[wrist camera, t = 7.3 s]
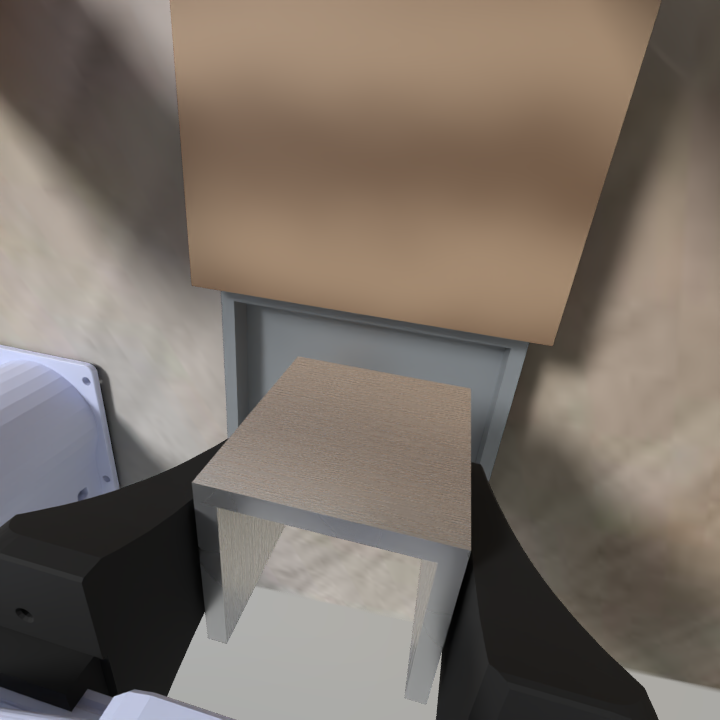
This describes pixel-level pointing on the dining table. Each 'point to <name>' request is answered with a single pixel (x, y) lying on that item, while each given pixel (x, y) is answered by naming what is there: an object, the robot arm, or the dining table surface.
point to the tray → (367, 358)
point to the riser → (402, 151)
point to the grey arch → (343, 489)
